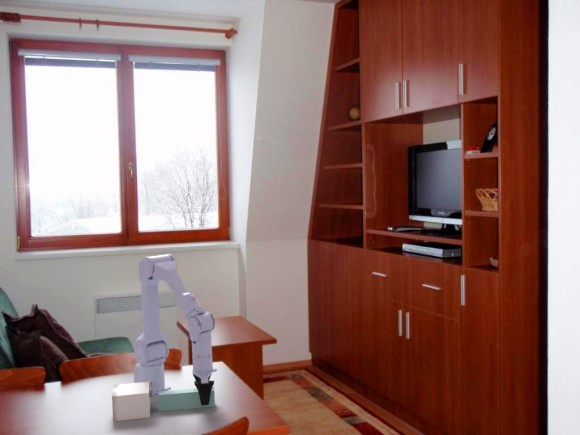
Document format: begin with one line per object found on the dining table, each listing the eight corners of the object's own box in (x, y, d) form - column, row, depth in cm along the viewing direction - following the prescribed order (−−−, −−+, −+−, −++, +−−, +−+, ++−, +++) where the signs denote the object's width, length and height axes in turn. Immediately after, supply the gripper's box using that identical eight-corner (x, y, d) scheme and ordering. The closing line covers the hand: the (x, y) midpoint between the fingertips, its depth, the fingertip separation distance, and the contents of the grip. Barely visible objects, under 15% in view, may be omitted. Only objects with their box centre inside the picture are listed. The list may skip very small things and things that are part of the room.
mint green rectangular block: (159, 412, 183) (158, 395, 183) (159, 408, 186) (158, 391, 186) (215, 407, 185) (214, 390, 185) (214, 403, 188) (214, 387, 188)
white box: (113, 421, 176) (111, 396, 176) (115, 408, 187) (114, 384, 187) (153, 417, 178) (152, 392, 178) (153, 404, 189) (152, 381, 189)
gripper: (218, 359, 180) (220, 407, 180) (213, 347, 194) (215, 391, 194) (192, 362, 178) (195, 409, 179) (190, 349, 192) (192, 393, 193)
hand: (204, 400), depth 186 cm, fingers open, 7 cm apart
